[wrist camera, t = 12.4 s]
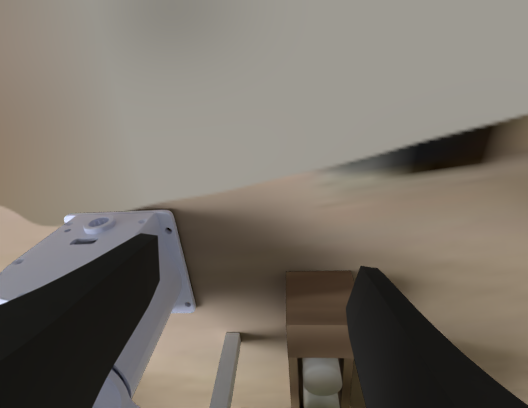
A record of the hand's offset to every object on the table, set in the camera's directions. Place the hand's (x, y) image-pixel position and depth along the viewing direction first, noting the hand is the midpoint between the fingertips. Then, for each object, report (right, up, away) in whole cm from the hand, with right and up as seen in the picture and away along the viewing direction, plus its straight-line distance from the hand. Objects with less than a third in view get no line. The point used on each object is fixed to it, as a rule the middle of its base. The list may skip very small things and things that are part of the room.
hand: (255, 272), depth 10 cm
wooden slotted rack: (+5, -10, +15) cm, 19 cm away
